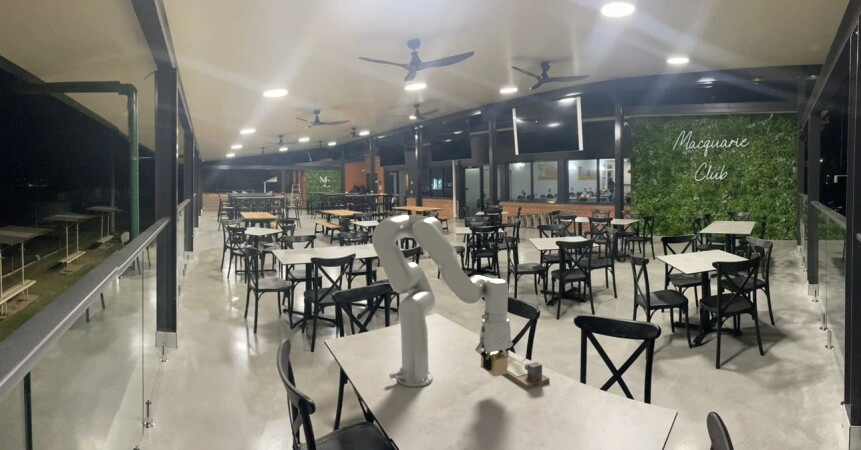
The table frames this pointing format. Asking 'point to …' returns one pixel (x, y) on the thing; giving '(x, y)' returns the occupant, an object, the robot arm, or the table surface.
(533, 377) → the shaft rig
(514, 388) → the table surface
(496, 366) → the gold rectangular block
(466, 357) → the table surface
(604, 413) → the table surface
